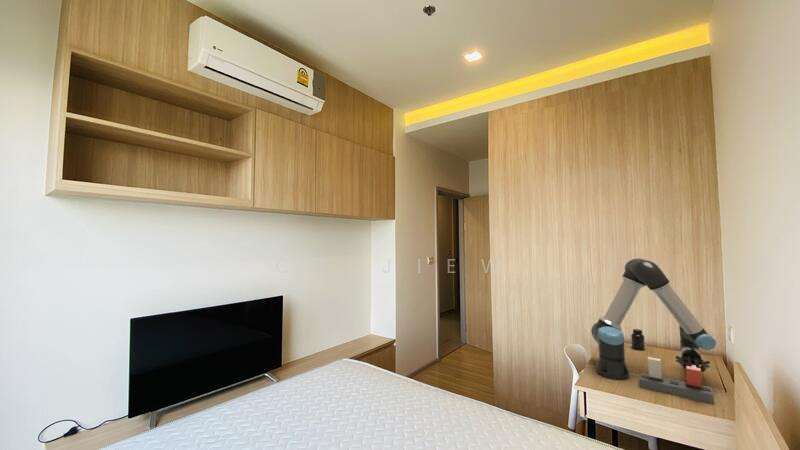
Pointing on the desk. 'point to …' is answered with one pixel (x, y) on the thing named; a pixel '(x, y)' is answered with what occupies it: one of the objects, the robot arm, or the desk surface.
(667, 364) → the desk surface
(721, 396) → the desk surface
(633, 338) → the supplement bottle
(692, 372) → the red upright block
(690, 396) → the grey slotted base
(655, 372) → the white rocker
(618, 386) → the desk surface
